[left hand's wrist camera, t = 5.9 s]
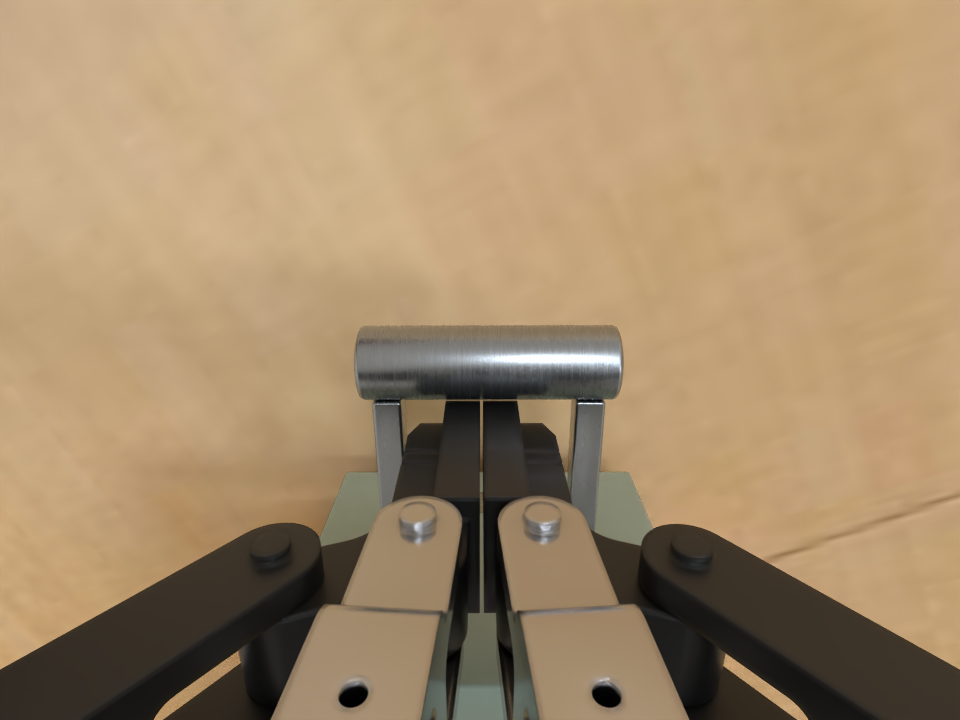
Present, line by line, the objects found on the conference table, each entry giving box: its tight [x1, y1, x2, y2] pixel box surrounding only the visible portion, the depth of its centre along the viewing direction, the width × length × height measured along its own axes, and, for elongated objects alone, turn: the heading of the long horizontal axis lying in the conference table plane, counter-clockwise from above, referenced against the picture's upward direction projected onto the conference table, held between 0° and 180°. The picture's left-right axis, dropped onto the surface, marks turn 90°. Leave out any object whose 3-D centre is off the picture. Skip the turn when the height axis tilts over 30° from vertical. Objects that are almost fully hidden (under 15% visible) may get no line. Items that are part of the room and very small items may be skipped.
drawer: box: [320, 325, 653, 720], centre depth 16 cm, size 23×9×8 cm, turn 0°
